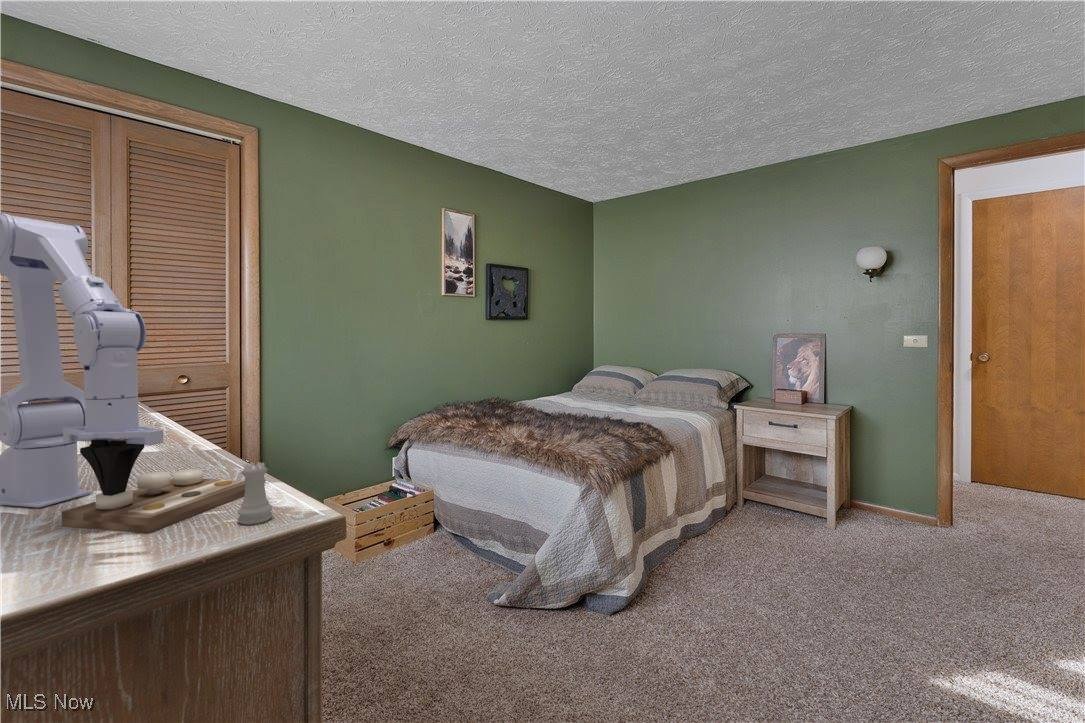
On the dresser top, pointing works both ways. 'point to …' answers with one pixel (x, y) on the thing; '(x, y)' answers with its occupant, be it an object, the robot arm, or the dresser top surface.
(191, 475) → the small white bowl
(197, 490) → the board
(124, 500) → the button near
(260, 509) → the rook chess piece
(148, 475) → the button mid
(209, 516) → the dresser top surface
